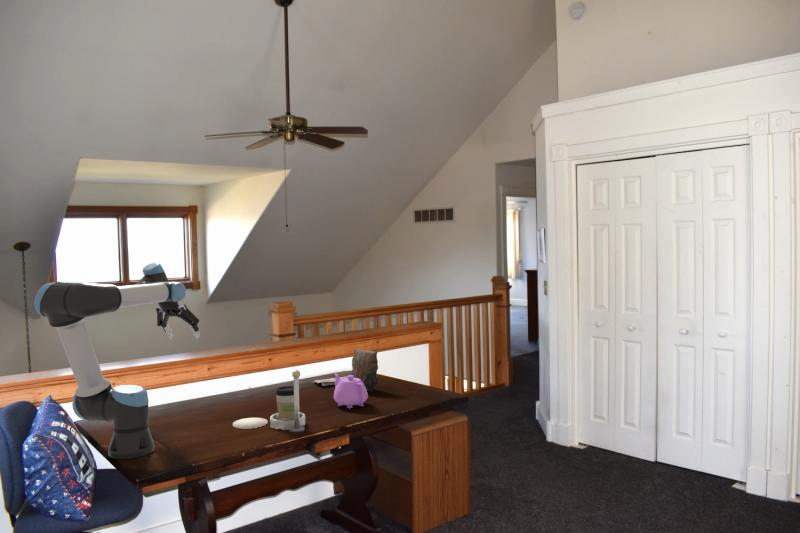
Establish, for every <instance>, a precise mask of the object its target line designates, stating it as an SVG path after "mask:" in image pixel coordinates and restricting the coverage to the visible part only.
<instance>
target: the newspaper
mask: <svg viewBox="0 0 800 533" xmlns="http://www.w3.org/2000/svg"><path fill="white" fill-rule="evenodd" d="M347 376H348V375H346V376H345V375H344V376H339V377H340V380H341V379H344V378H347ZM376 376H377V377H378V375H377V374H376ZM313 383H321V384H320V385H321V387H322V386H324V387H329V386H328V385H330V386H335V383H336V377H331V378H326V379H325V378H324V379H317V380H313V382H312V384H313Z"/></svg>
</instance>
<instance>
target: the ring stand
mask: <svg viewBox="0 0 800 533" xmlns="http://www.w3.org/2000/svg"><path fill="white" fill-rule="evenodd" d="M291 373H292V374H291V375H292V377H293V386H294V420H285V421H283V420H279V415H278V412H276V413H272V415H270V417H269V423H270V424H269V425H270V428H271V429H273V428H274V429H273V430H278V429H281V430H282V431H286V430H287V431H289V432H290V433H293V434H296V433H298V432H299V433H303V432H305V426H306V414H305V413H303V412H301V411H300V384H299V383H300V376H301V372H300V370H297V369H295V370H293V371H292V372H291ZM281 430H280V431H281Z"/></svg>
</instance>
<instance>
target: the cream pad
mask: <svg viewBox="0 0 800 533" xmlns="http://www.w3.org/2000/svg"><path fill="white" fill-rule="evenodd" d="M268 423H269V422H268V419H266V418H263V417H246V418H241V419H238V420H235V421H234V422H232V427H233V428H235V429H239V430H251V429H253V428H254V429H257V428H258V427H259V428H261V427H262V426H263V427H264V426H266V424H267V425H268Z"/></svg>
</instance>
